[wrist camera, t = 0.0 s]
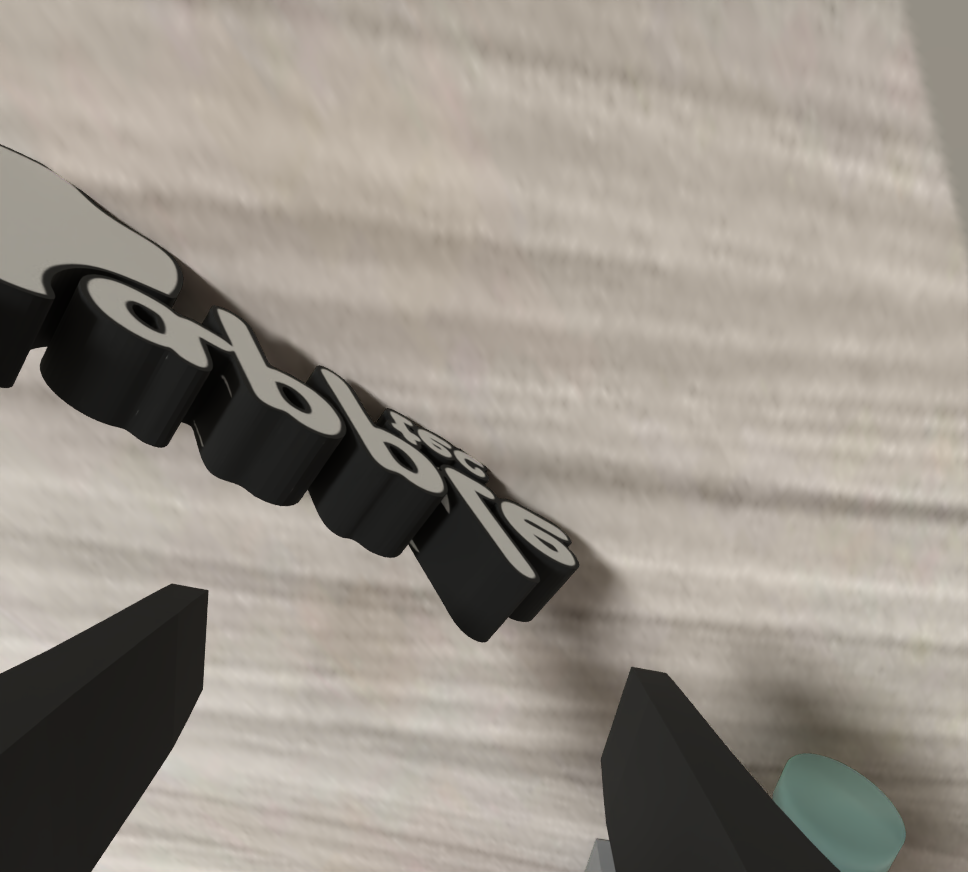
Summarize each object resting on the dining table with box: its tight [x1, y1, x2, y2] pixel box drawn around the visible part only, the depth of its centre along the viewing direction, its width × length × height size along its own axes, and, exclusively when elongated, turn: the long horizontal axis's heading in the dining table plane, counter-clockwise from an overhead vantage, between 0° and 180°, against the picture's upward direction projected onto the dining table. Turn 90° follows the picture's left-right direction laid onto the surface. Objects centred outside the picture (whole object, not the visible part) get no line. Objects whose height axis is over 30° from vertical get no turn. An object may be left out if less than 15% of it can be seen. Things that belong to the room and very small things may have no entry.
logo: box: [0, 144, 579, 642], centre depth 16 cm, size 21×2×10 cm, turn 54°
